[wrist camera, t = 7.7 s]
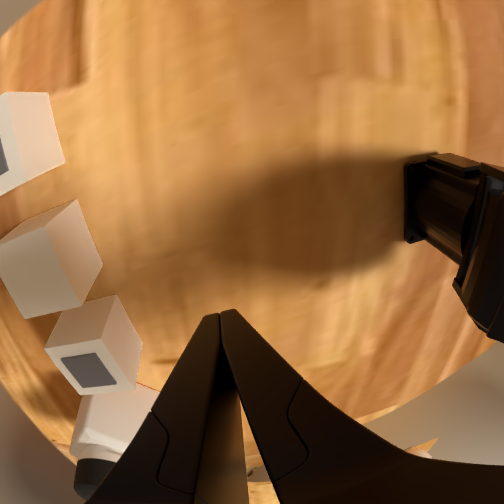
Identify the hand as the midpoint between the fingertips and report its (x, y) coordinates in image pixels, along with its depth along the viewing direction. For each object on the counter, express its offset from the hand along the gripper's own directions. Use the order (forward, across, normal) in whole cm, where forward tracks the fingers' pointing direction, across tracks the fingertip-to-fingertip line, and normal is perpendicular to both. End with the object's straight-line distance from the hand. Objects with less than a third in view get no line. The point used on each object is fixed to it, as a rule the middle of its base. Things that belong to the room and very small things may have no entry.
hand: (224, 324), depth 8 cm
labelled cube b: (+12, +11, -8) cm, 18 cm away
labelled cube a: (+12, +11, +8) cm, 18 cm away
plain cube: (+12, +11, 0) cm, 16 cm away
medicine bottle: (+12, +14, +16) cm, 25 cm away
